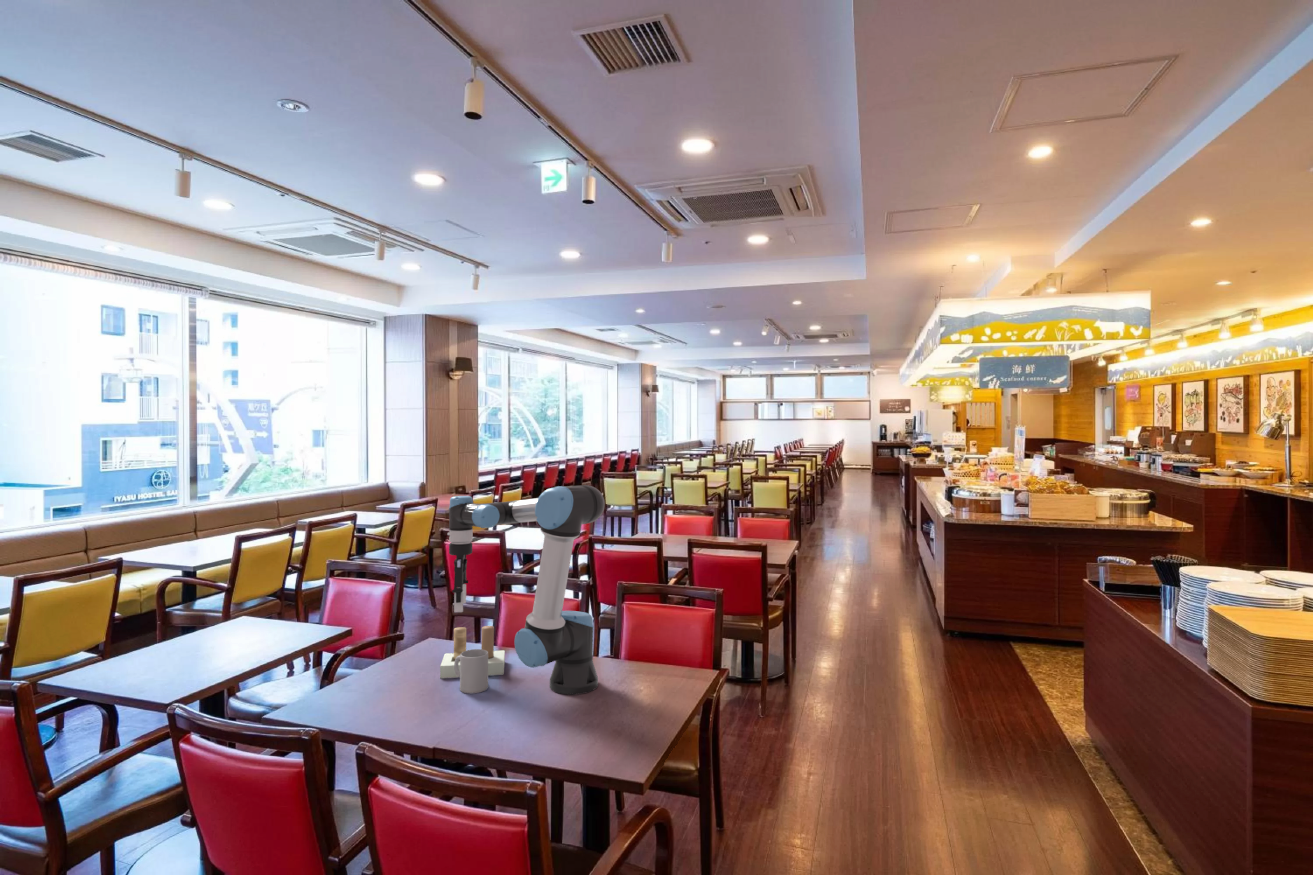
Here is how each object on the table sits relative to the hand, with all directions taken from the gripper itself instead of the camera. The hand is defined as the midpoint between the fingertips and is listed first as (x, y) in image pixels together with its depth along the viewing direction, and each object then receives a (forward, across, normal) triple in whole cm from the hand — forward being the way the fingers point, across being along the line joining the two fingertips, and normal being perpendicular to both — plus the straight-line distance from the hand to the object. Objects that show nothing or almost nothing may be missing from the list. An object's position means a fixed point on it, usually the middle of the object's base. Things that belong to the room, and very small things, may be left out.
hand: (460, 607), depth 223 cm
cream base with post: (+21, 0, +4) cm, 22 cm away
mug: (+21, +16, +4) cm, 27 cm away
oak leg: (+21, 0, 0) cm, 21 cm away
